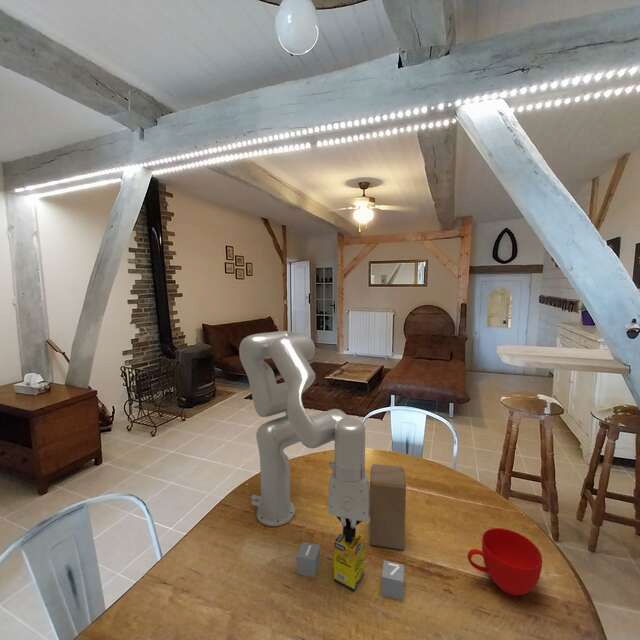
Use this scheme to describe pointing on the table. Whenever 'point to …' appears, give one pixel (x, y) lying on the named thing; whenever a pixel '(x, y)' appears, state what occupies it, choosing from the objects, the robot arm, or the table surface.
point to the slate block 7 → (393, 580)
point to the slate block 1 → (308, 559)
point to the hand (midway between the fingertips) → (349, 538)
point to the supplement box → (349, 561)
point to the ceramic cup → (509, 560)
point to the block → (387, 506)
